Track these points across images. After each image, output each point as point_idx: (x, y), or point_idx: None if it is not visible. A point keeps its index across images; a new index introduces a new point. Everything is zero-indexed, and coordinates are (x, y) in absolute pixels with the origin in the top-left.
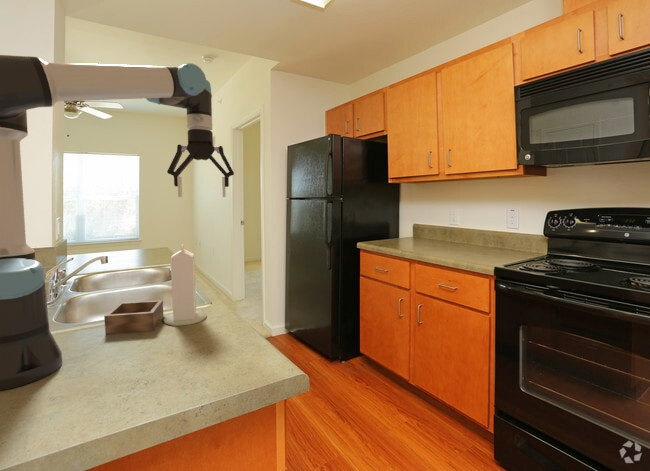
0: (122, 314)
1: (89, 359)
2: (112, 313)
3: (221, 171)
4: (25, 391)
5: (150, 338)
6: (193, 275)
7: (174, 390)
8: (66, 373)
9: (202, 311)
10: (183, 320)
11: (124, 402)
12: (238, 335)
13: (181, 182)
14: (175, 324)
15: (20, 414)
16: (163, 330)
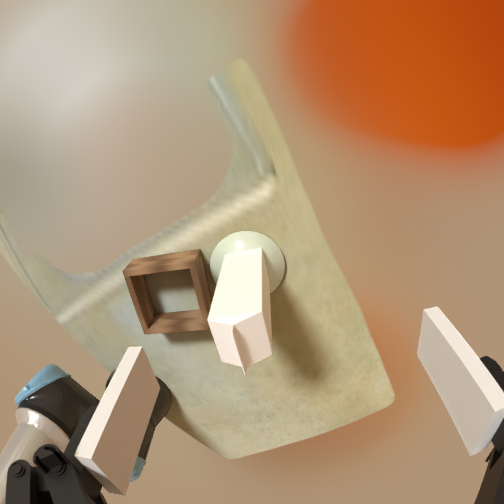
0: (167, 331)
1: (185, 379)
2: (145, 318)
3: (483, 490)
4: (174, 415)
5: None
6: (270, 320)
7: (295, 423)
8: (184, 398)
9: (272, 240)
10: None
11: (262, 432)
12: (347, 335)
13: (111, 426)
14: None
15: (197, 435)
16: None
